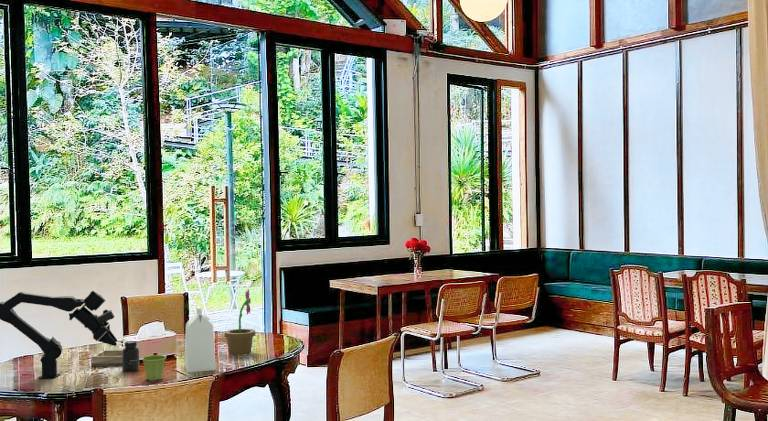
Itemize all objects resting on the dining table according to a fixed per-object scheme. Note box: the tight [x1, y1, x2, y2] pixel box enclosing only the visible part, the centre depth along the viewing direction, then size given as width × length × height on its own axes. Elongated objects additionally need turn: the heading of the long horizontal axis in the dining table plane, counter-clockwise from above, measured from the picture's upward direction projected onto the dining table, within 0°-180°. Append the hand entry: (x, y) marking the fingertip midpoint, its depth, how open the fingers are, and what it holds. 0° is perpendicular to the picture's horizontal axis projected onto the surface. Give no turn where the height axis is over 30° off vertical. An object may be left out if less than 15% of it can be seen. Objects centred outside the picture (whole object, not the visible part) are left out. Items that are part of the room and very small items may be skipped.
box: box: [90, 349, 123, 367], centre depth 324 cm, size 14×14×4 cm
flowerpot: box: [224, 289, 256, 356], centre depth 340 cm, size 14×14×30 cm
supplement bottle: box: [121, 340, 140, 372], centre depth 309 cm, size 7×7×12 cm
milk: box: [184, 306, 216, 373], centre depth 310 cm, size 12×12×26 cm
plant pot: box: [141, 354, 167, 382], centre depth 292 cm, size 9×9×9 cm
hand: (116, 343), depth 307 cm, fingers open, 9 cm apart
